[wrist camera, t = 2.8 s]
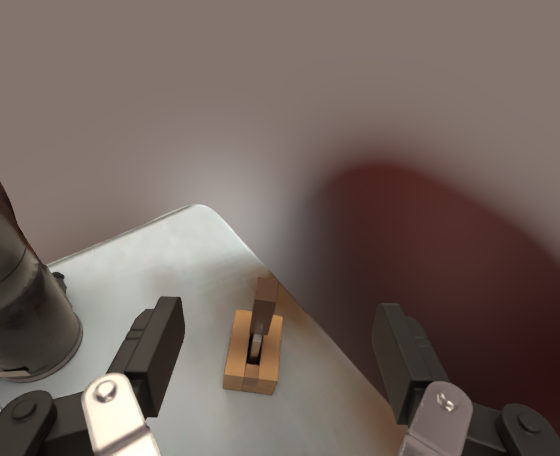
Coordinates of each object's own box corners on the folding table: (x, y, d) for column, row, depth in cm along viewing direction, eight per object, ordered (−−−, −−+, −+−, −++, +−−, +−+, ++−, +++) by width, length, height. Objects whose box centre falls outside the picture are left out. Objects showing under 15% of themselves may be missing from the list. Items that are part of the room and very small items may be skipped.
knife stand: (234, 327, 46) (236, 309, 42) (277, 333, 46) (282, 316, 43) (223, 388, 41) (223, 374, 37) (271, 394, 41) (277, 381, 37)
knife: (246, 343, 45) (258, 270, 32) (261, 345, 45) (279, 273, 32) (242, 373, 42) (253, 307, 30) (257, 375, 42) (275, 310, 30)
